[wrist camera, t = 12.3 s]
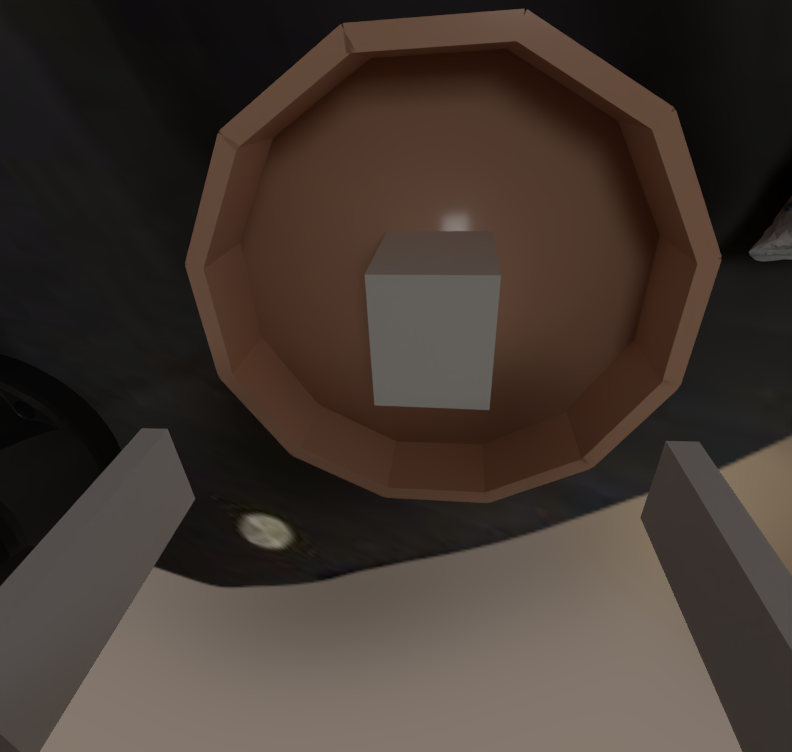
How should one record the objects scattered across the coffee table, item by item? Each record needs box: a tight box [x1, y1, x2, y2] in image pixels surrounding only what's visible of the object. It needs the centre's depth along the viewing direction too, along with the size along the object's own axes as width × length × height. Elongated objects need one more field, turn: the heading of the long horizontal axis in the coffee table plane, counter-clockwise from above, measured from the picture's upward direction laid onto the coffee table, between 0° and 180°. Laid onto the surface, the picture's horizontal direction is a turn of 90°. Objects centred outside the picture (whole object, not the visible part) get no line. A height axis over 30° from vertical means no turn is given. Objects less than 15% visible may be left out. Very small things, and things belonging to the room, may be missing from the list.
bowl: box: [185, 9, 722, 503], centre depth 22 cm, size 22×22×5 cm
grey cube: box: [365, 231, 501, 410], centre depth 21 cm, size 5×6×6 cm
